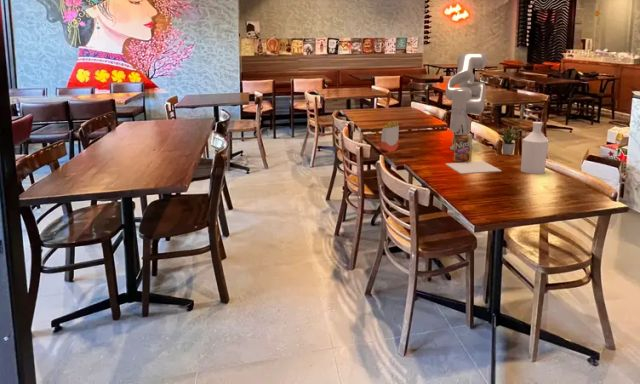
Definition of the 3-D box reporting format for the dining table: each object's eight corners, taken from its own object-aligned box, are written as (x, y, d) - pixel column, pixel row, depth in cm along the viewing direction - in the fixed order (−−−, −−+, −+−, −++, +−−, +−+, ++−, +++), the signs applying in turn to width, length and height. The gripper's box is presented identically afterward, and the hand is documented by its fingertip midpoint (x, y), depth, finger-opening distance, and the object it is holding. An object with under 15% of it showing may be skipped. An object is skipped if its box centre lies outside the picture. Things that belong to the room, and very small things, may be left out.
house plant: (523, 157, 291) (526, 128, 286) (498, 156, 294) (500, 128, 289) (519, 151, 304) (522, 124, 299) (495, 150, 307) (497, 123, 302)
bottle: (524, 166, 271) (529, 119, 263) (548, 170, 264) (553, 121, 256) (516, 171, 262) (521, 123, 255) (540, 175, 255) (546, 125, 247)
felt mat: (445, 164, 278) (445, 163, 278) (483, 162, 281) (483, 161, 281) (460, 174, 259) (460, 173, 259) (501, 171, 263) (501, 170, 262)
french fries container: (380, 151, 311) (381, 122, 306) (392, 148, 318) (393, 119, 312) (386, 152, 308) (386, 123, 303) (398, 149, 315) (399, 120, 309)
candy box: (453, 161, 283) (454, 134, 280) (456, 160, 287) (456, 133, 283) (469, 162, 278) (470, 134, 275) (471, 161, 282) (472, 133, 278)
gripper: (446, 110, 290) (445, 141, 295) (457, 113, 276) (455, 147, 281) (459, 109, 291) (457, 141, 296) (470, 113, 277) (468, 146, 282)
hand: (456, 144), depth 289 cm, fingers closed
